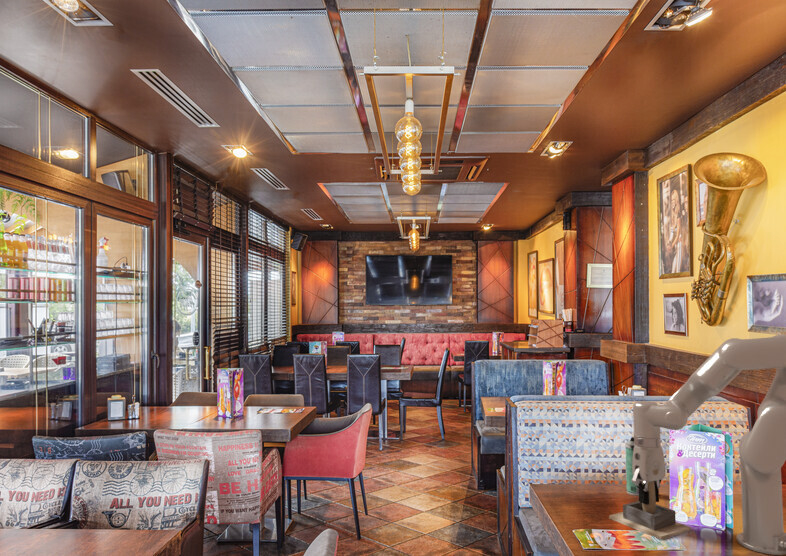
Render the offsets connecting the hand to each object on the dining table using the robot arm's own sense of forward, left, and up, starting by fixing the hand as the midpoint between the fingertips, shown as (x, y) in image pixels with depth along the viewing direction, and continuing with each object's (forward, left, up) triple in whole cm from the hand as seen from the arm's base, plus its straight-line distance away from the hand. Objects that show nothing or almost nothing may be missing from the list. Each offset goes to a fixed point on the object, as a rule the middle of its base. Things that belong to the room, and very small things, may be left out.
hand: (649, 501), depth 166 cm
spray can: (+21, -21, -7) cm, 31 cm away
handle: (0, 0, -5) cm, 5 cm away
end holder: (0, 0, -7) cm, 7 cm away
